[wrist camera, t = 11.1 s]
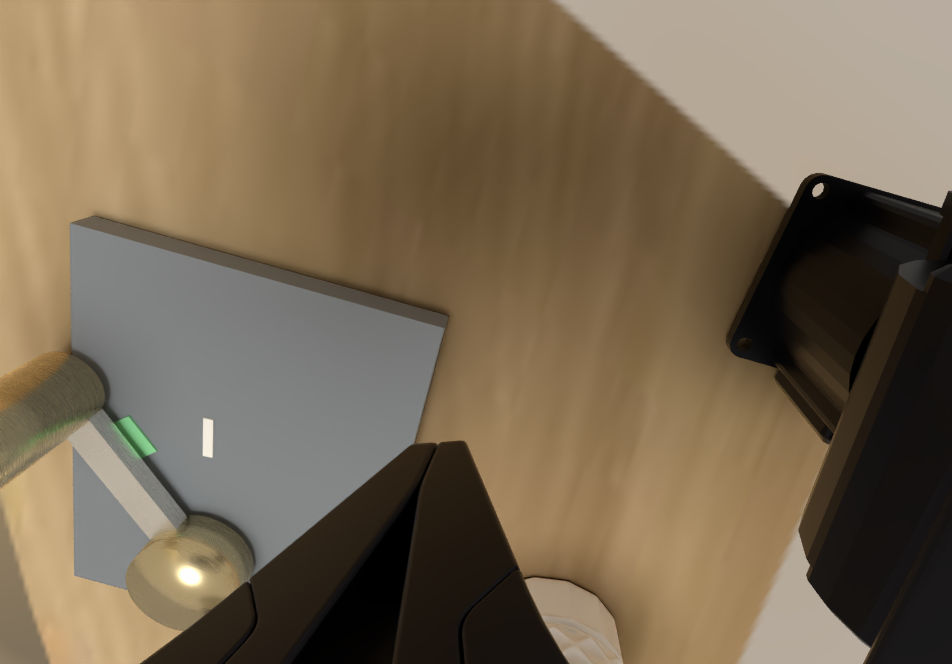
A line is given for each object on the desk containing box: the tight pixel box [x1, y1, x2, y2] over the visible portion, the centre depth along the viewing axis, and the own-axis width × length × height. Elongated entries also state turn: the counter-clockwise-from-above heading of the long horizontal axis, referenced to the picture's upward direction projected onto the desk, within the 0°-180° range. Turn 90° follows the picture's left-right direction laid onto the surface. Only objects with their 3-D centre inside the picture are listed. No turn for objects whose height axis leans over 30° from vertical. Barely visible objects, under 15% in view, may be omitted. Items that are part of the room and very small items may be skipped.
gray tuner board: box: [70, 216, 449, 590], centre depth 25 cm, size 17×14×1 cm
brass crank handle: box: [0, 352, 254, 631], centre depth 18 cm, size 13×4×13 cm, turn 26°
